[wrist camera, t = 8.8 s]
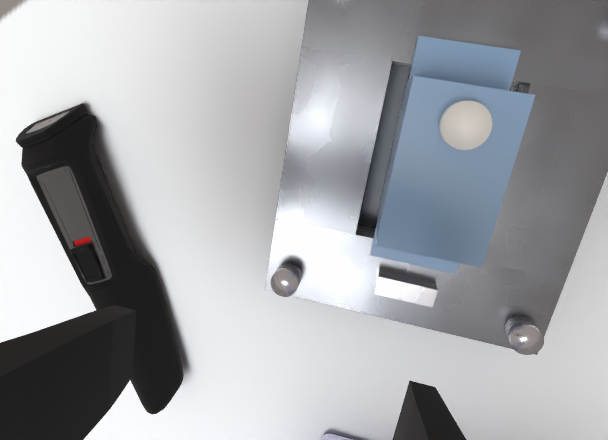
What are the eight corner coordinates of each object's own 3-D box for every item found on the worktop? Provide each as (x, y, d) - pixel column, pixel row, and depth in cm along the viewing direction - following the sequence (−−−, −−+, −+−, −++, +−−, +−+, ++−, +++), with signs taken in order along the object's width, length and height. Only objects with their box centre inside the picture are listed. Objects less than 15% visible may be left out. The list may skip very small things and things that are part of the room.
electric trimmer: (151, 382, 25) (119, 422, 22) (35, 122, 22) (-22, 128, 19) (207, 372, 24) (182, 412, 21) (96, 99, 21) (47, 101, 18)
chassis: (526, 335, 20) (545, 368, 17) (273, 276, 21) (258, 299, 19) (650, -1, 15) (698, -19, 13) (323, -44, 17) (312, -68, 15)
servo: (449, 256, 19) (472, 317, 14) (371, 240, 20) (365, 292, 14) (505, 55, 17) (560, 36, 11) (415, 42, 17) (427, 17, 12)
